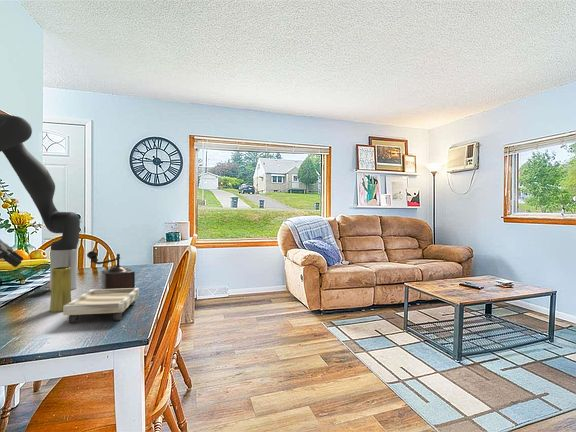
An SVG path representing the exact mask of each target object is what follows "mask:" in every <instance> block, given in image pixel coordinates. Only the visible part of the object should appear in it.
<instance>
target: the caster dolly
mask: <svg viewBox="0 0 576 432" xmlns="http://www.w3.org/2000/svg"><path fill="white" fill-rule="evenodd" d="M139 295H140V287H135V288H121V289H101V288H100V289H99V288H97V289H94V288H93V289H89V290H88V291H86V292H85V293H83V294H81V295H79V296H78V297H76V298H75V299H73V300H71V302H70V303H68V304H66V305H65V306H63V311H62V316H68V323H69V324H76V323H77V324H78V322H79V320H80V315H94V314H95V315H97V314H99V315H100V314H113V316H112V319H113V320H112V321H121V320H122V316H123V313H124V312H125V310H126V309H127V308H129V306H134V305H135V303H136V299H137V298H138V297H139Z"/></svg>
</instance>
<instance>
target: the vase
mask: <svg viewBox="0 0 576 432" xmlns="http://www.w3.org/2000/svg"><path fill="white" fill-rule="evenodd" d="M71 301H72V290H71V267H55V268H52V284H51V291H50V306H49V311H50V312H52V313H59V312H60V313H61V312H63V306H65V305H66V304H68V303H70V302H71Z"/></svg>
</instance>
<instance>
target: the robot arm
mask: <svg viewBox="0 0 576 432" xmlns="http://www.w3.org/2000/svg"><path fill="white" fill-rule="evenodd" d="M32 133H33V128H32V126H31V124H30V123H29V121H28V120H26V119H24V118H23V117H20V116H17V115H12V114H4V113H0V153H1V152H2V153H3V155H4V156H5V158H6V159H7V161H8V162H9V164H10V166H11V167H12V169H13V170H14V172H15V173H16V175H17V176H18V179H19V180H20V182H21V184H22V185H23V187H24V189H25V190H26V192H27V193H28V194H29V196H30V198H31V200H32V202H33V203H34V206H35V207H36V208H37V211H38V212H39V215H40V217H41V220H42V221H43V224H44V225H45V228H46V229H47V230H48V231H49V232H50V233H53V234H62V236H61V238H60V239H59V240H56V241H54V242H52V243H50V252H49V253H50V254H49V255H50V257H49V258H50V262H49V263H50V265H49V267H50V268H49V291H50V292H51V284H52V268H55V267H71V291H73V290H75V289H76V288H77V282H78V279H77V278H78V277H77V276H78V275H77V274H78V273H77V272H78V270H77V269H78V244H79V242H80V241H79V240H80V231H81V229H80V228H81V221H80V216H79V215H78V214H77V213H76V212H71V211H59V210H58V209H57V208H56V206H55V204H54V195H55V192H56V183H55V181H54V180H53V178H52V176H51V174H50V172H49V170H48V169H47V168H46V167H45V166H44V164H43V163H42V162H41V161H39V160H38V159H37V158H36V157H35V156H34V155H33V154H31V152H30V151H29V150H28V149H27V148H26V147H25V144H24V143H25V142H27V141H29V139H30V138H31V136H32V135H33V134H32ZM0 260H1V261H4V262H7V264H9V265H10V266H12V267H14V268H17V267H18V266H19V265H21V264H22V261H23V260H24V256H23V257H22V256H21V255H20V254H19V253H17V252H16V251H14V249H13V247H11V246H9V245H8V244H7V243H5V242H4V241H3V240H2V239H0Z"/></svg>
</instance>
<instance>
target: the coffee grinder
mask: <svg viewBox="0 0 576 432" xmlns="http://www.w3.org/2000/svg"><path fill="white" fill-rule="evenodd" d="M98 255H99V253H98V251H97V250H90V251H88V253H87V254H86V256H87V258H88V259H89V260H90V263H91V264H92V263H93V264H96V265H103V264H107V263H112V262H115V261H116V264H115V265H113V266H112V267H111V268H109V269H106V270H101V271H100V273H101V279H100V285H101V287H100V289H121V288H136V287H135V285H136V284H135V283H136V278H135V277H136V273H135V271H134V270H132V269H131V268H129V267H125V266H122V265H120V259H121V257H120V256H121V255H120V253H117V254H116V257H115V258H113V259H108V260H104V261H103V260H102V261H99V259H98Z"/></svg>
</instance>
